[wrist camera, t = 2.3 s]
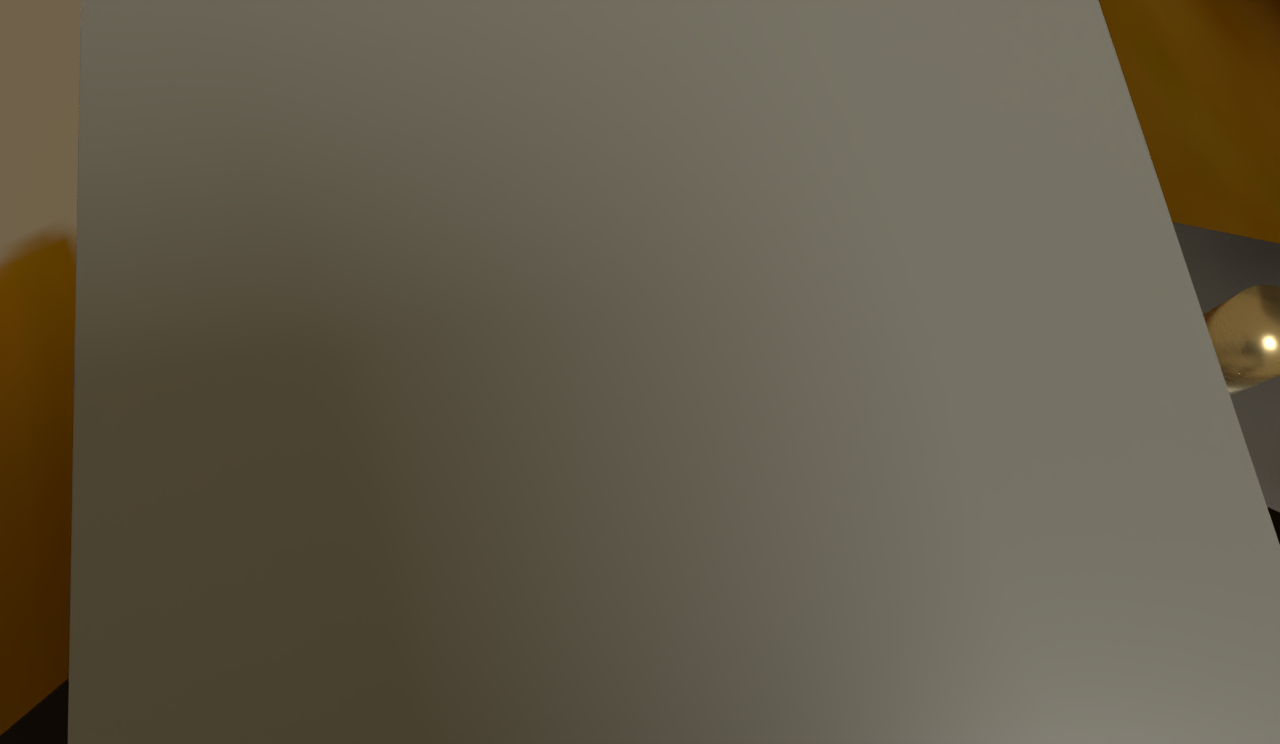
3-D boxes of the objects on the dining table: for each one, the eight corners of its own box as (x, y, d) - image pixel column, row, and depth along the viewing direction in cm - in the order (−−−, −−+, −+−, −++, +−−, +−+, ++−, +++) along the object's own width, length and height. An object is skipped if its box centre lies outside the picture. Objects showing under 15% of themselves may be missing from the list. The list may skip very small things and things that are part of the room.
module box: (830, 686, 16) (1386, 870, 4) (522, 735, 16) (62, 1088, 4) (773, 389, 18) (1037, -178, 5) (490, 431, 18) (81, -45, 5)
